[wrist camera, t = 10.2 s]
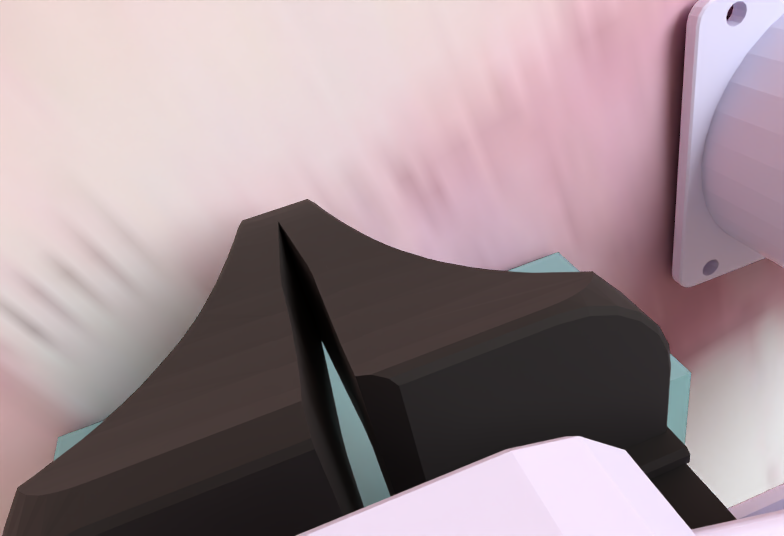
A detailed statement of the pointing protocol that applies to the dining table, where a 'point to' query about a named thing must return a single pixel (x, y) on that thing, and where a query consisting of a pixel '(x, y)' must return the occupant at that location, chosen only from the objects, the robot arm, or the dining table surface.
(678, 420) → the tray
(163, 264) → the dining table surface
